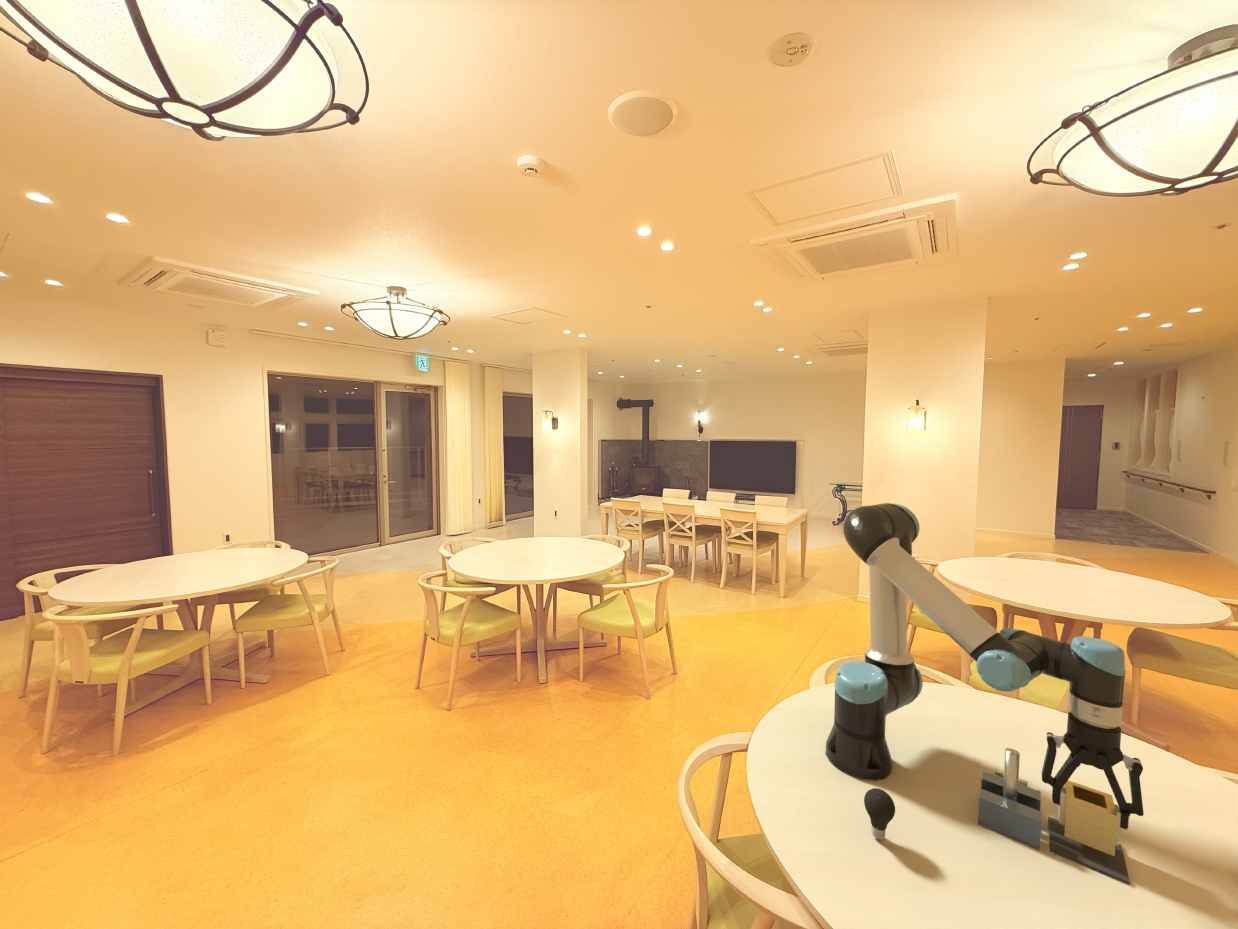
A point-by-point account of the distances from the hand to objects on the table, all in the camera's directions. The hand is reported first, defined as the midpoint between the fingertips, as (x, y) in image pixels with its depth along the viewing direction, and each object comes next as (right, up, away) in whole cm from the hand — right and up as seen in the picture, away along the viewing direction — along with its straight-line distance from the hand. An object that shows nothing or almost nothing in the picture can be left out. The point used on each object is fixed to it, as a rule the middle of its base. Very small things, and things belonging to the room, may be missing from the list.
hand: (1087, 830), depth 96 cm
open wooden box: (0, -1, 0) cm, 1 cm away
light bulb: (-41, -4, +2) cm, 41 cm away
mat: (0, -4, 0) cm, 4 cm away
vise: (-8, -4, +10) cm, 13 cm away
